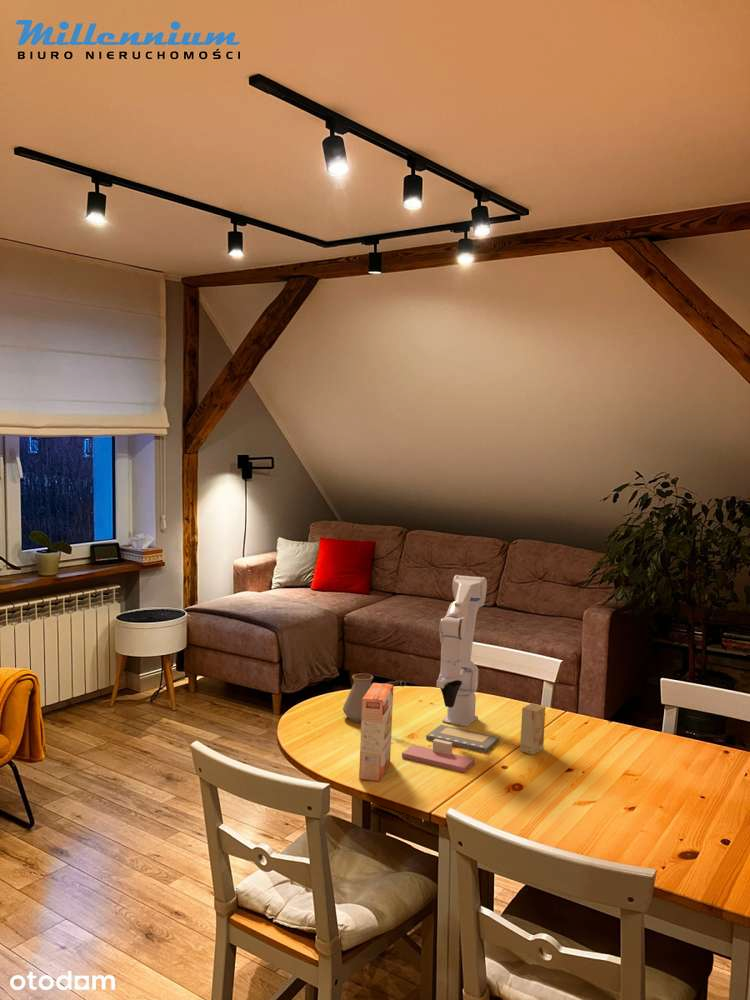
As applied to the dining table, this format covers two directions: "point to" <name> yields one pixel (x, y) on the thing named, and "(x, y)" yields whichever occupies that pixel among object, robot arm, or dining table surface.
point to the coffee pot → (359, 695)
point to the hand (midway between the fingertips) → (449, 706)
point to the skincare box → (532, 728)
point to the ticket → (464, 738)
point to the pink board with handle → (439, 756)
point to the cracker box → (376, 731)
